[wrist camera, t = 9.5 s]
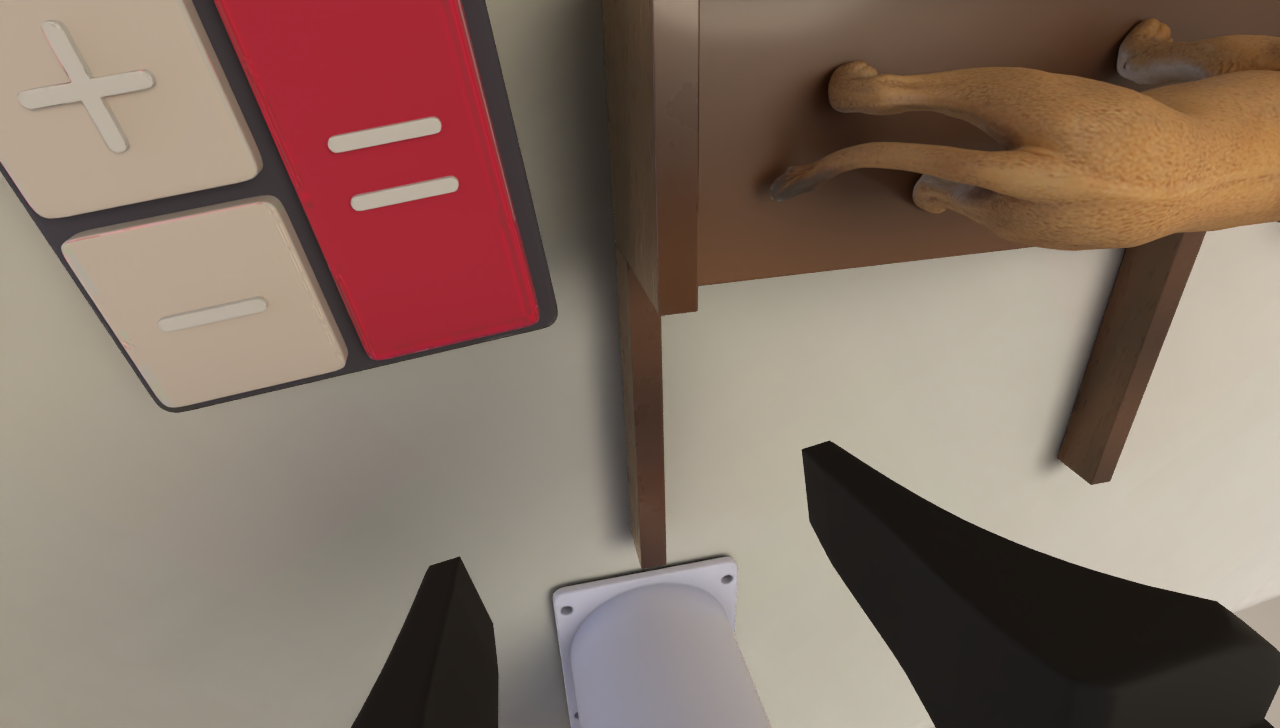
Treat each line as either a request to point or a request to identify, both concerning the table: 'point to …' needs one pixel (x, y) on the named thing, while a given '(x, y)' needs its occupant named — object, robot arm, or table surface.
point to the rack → (846, 174)
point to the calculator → (273, 183)
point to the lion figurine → (1085, 143)
